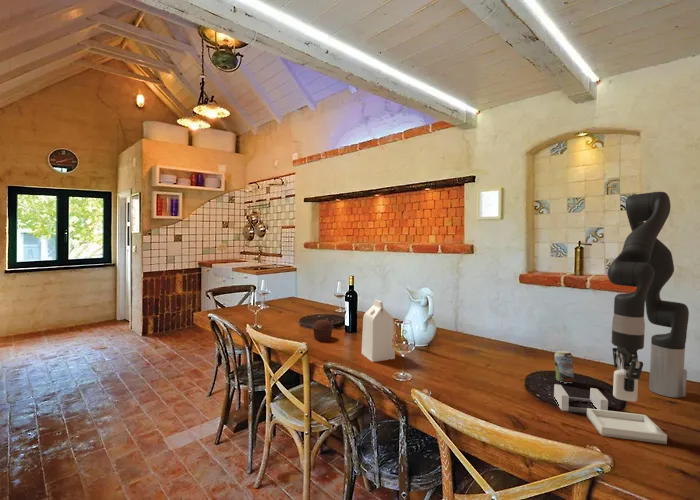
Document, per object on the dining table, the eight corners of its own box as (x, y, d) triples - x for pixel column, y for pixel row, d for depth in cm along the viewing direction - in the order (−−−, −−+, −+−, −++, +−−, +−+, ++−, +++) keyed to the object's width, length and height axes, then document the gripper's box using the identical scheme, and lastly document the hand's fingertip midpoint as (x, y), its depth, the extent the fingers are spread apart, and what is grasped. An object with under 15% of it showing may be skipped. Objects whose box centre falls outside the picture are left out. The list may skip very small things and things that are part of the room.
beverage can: (565, 386, 136) (566, 355, 136) (549, 379, 144) (550, 349, 143) (578, 385, 138) (579, 353, 138) (562, 377, 145) (563, 347, 145)
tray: (644, 422, 111) (645, 414, 111) (666, 444, 100) (667, 435, 99) (586, 415, 115) (587, 408, 115) (601, 435, 104) (601, 426, 104)
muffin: (310, 336, 201) (310, 318, 200) (330, 334, 204) (330, 317, 204) (315, 342, 189) (315, 323, 189) (335, 340, 193) (335, 322, 192)
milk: (395, 358, 166) (395, 302, 165) (372, 361, 162) (372, 304, 160) (383, 350, 177) (383, 297, 176) (361, 353, 173) (361, 299, 172)
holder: (596, 403, 123) (597, 388, 123) (607, 415, 115) (608, 400, 115) (553, 398, 127) (554, 384, 127) (561, 410, 118) (561, 395, 118)
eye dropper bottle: (615, 393, 110) (617, 354, 110) (638, 399, 106) (640, 359, 106) (611, 397, 108) (612, 357, 107) (634, 404, 103) (636, 362, 103)
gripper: (656, 338, 98) (653, 400, 99) (631, 325, 112) (629, 380, 112) (624, 335, 100) (621, 397, 101) (603, 323, 114) (601, 377, 114)
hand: (625, 387), depth 107 cm, fingers closed on eye dropper bottle, 3 cm apart
